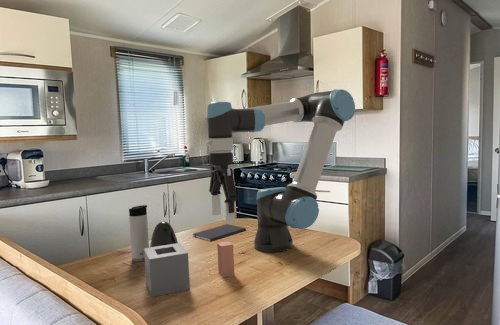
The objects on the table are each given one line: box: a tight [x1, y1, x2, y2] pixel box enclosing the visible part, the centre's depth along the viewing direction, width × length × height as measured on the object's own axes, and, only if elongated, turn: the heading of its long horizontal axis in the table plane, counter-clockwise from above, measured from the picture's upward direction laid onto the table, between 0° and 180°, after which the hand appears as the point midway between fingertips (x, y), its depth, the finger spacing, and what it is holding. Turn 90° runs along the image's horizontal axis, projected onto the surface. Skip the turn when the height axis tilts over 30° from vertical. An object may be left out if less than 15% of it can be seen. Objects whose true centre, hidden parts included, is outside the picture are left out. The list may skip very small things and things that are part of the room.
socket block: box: [144, 242, 191, 298], centre depth 113 cm, size 11×11×11 cm
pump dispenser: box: [149, 221, 179, 248], centre depth 132 cm, size 10×10×15 cm
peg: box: [216, 241, 235, 278], centre depth 121 cm, size 4×4×10 cm
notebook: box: [192, 223, 247, 242], centre depth 169 cm, size 13×2×21 cm
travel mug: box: [128, 204, 150, 263], centre depth 138 cm, size 6×7×20 cm
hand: (223, 218), depth 119 cm, fingers open, 13 cm apart
